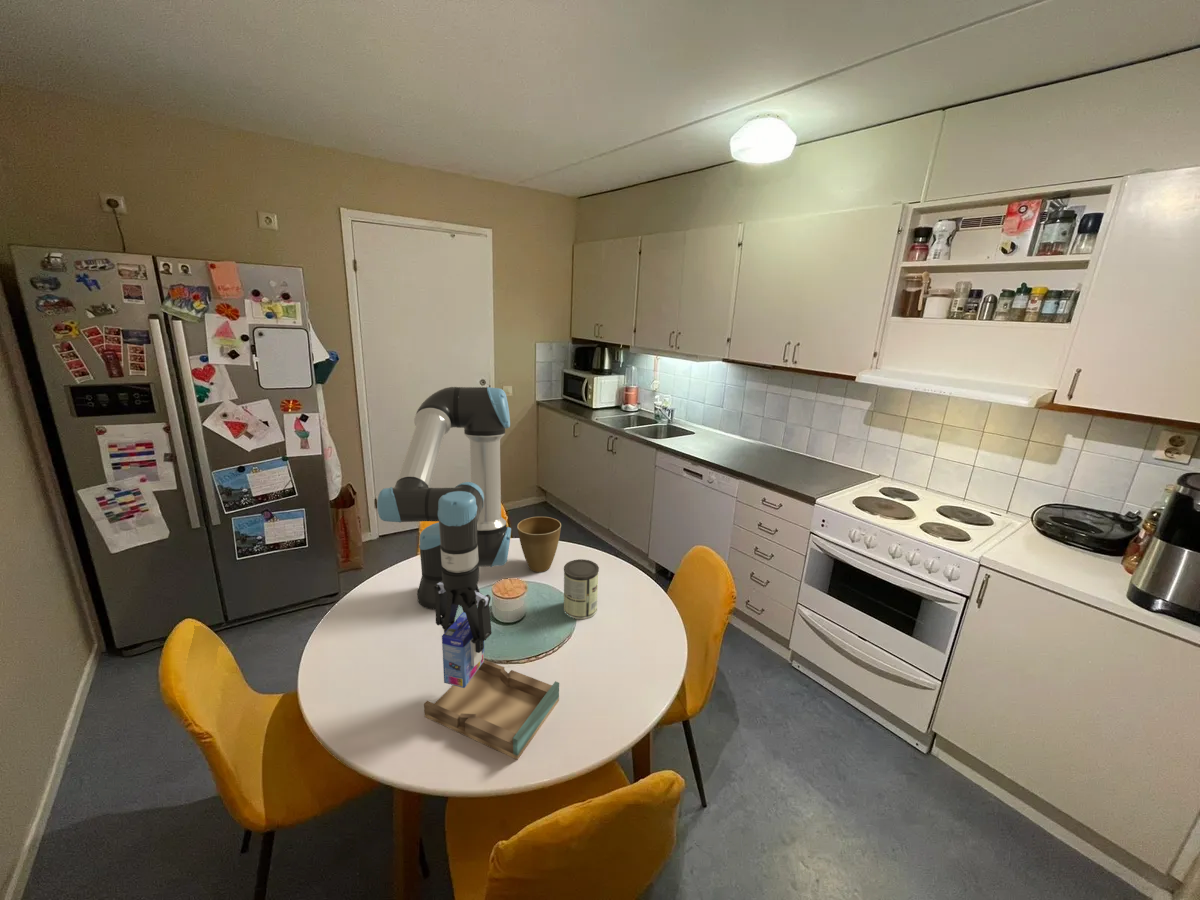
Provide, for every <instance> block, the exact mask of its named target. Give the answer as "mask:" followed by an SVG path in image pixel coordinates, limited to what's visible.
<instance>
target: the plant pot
mask: <svg viewBox="0 0 1200 900" xmlns="http://www.w3.org/2000/svg"><path fill="white" fill-rule="evenodd" d="M516 526H517V534H518V538H519V542H520V543H519V544H520V548H521V550H522V553H523V555H524V558H525V562H526V564H527V565H528V568H529V570H530V571H532V572H536V573H537V572H538V573H543V572H546V571H549V569H551V566H552V565H553V561H554V560H555V559H554V558H555V556H556V553H557V549H558V546H559V545H558V544H559V542H560V541H559V540H560V537H561V536H560V535H561V530H562V529H561V528H562V523H561V521H560V520H558V519H556V518H553V517H551V516H550V517H549V516H532V517H528V518H525V519H522V520H521V521H520V522H518V523H517V525H516Z"/></svg>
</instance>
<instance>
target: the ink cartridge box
mask: <svg viewBox="0 0 1200 900" xmlns="http://www.w3.org/2000/svg"><path fill="white" fill-rule="evenodd" d="M472 638H473V636H472V632H471V629H470V626H469V623H468V619H467V616H466V613H464V612H463V611H462V612H461V614H460V615H459V616H458V617H456V618H455V621H454V623H453V624H452V625H451V626H450V627H449V628H448V629H447V631H446V632H445V633H444V632H443V634H442V635H441V645H442V665H443V666H442V667H443V683H444V684H448V685H451V686H453V685H454V686H458V687H462V688H465V687H466V686H467V684H468V683H469V681H470V680H471V679H472V677H473V676H474V674H475V673H476V672H477V670H478V669H479V667H480V666H481V665H482V663H483V662H484V660H485V648H484V649H483V650H482V660H481V661H480V662H479V663H478V664H477V665H476V666H474V667H473V666H471V644H470V640H471V639H472Z"/></svg>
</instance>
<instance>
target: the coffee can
mask: <svg viewBox="0 0 1200 900" xmlns="http://www.w3.org/2000/svg"><path fill="white" fill-rule="evenodd" d="M599 570H600V567H599V565H598V564H597V563H596V562H595V561H592V560H589V559H584V558H583V559H581V558H580V559H574V560H570V561H568V562H566V564H564V566H563V612H564V611H565V612H566V614H568V615H569V616H571V617H573V618H572V619H574V618H575V619H574V620H587V619H590V618H592V617H593V616H595V615H596V614H597V612H598V595H599V594H598V589H599ZM565 612H564V613H565ZM566 614H565V615H566ZM569 616H568V617H569ZM571 617H570V618H571Z"/></svg>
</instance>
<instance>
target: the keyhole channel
mask: <svg viewBox="0 0 1200 900" xmlns="http://www.w3.org/2000/svg"><path fill="white" fill-rule="evenodd" d="M559 701H560V682H558V681H556V680H555V681H554V682H553V683H552V684H549V683H547V682H545V681H541V680H539V679H536V678H534V677H532V676H528V675H526V674H523V673H520V672H517V671H515V670H512V669H511V670H509V672H507V670H506V669H505V667H504V666H502V665H499V664H498V663H494V662H491V661H488V660H486V659H484V662H483V663H482V665H481V666H480V667H479V669H478V670H477V672H476V673H475V674H474V676H473V677H472V679H471V680H470V681H469V683H468V684H467V686H466V687H465V688H462V687H458V686H454V685H451V686H450V687H449V689H447V691H446V692H445V693H443V694H442V695H441V696H440V698H438V699H437V701H435V702H434V703H433V702H431V701H429V700H426V701H425V702H423V711H424V718H427V719H429V720H430V721H433V722H435V723H437V724H439V725H441V726H444V727H445V728H448V729H450V730H452V731H455V732H456V733H459V734H461V735H462V736H465V737H467V738H469V739H471V740H474V741H476V742H478V743H480V744H483V745H484V746H487V747H489V748H490V749H493V750H495V751H497V752H499V753H502V754H504V755H506V756H508V757H509V758H513V759H515V760H517V761H518V760H519V758H520V757H521V756H522V754H523V753H524V751H525V750H526V748H527V747H528V746H529V744H530V743H531V741H532V740H533V738H535V736H536V734H537V733H538V732H539V730H540V728H541V727H542V726H543V724H544V723H545V722H546V720H547V718H548V717H549V716H550V715H551V713H552V711H553V710H554V708H555V707H556V706H557V705H558V703H559Z"/></svg>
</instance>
